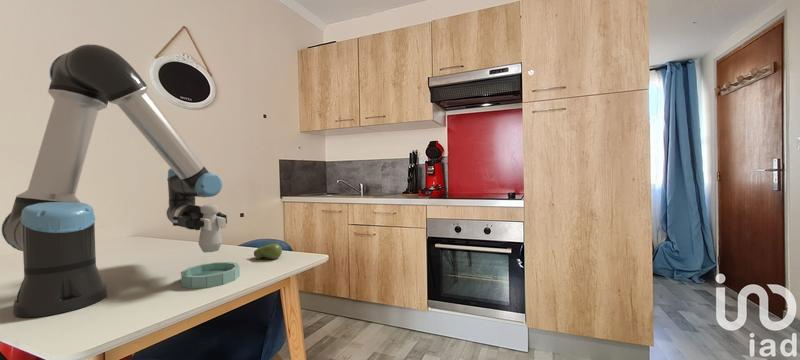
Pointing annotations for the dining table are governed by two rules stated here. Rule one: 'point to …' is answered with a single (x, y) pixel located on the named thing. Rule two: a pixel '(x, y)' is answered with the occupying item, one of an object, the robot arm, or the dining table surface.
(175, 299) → the dining table surface
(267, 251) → the pear
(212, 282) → the dish
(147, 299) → the dining table surface
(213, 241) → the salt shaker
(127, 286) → the dining table surface
